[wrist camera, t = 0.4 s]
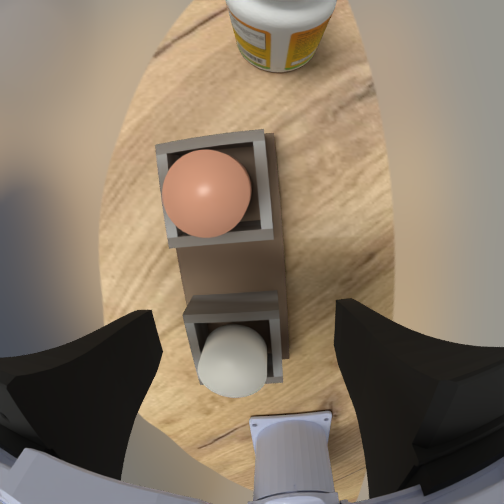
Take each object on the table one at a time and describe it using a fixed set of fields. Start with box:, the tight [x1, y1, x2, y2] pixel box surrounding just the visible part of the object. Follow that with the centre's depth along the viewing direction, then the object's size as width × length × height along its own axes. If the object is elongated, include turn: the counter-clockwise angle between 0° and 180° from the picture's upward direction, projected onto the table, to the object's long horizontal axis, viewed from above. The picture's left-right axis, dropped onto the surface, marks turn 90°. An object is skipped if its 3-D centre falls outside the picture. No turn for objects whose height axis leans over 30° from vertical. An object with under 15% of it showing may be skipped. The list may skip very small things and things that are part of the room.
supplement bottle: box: [226, 0, 337, 72], centre depth 11 cm, size 5×5×10 cm
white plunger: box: [198, 324, 267, 398], centre depth 16 cm, size 4×4×2 cm
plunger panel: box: [155, 129, 289, 385], centre depth 18 cm, size 16×7×4 cm, turn 6°
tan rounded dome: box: [162, 150, 252, 238], centre depth 14 cm, size 4×4×2 cm
